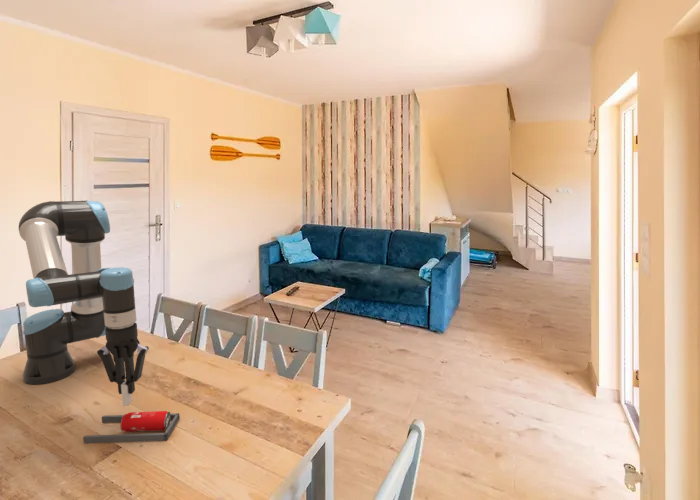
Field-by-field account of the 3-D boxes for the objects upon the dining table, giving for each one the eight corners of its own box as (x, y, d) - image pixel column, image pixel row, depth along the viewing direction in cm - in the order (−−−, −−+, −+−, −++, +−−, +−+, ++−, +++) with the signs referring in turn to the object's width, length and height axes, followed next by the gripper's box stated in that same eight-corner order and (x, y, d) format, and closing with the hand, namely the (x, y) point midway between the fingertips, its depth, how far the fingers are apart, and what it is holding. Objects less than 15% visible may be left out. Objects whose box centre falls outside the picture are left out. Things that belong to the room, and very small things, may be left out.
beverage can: (130, 414, 114) (172, 412, 115) (125, 433, 111) (168, 431, 112) (123, 410, 109) (166, 409, 110) (118, 430, 106) (163, 428, 108)
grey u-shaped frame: (83, 443, 105) (82, 437, 104) (103, 421, 115) (103, 415, 114) (166, 440, 107) (166, 434, 106) (179, 418, 116) (179, 413, 116)
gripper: (87, 329, 101) (96, 411, 105) (139, 329, 102) (145, 410, 106) (103, 319, 108) (111, 396, 112) (151, 319, 109) (157, 395, 113)
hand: (127, 403), depth 109 cm, fingers closed
